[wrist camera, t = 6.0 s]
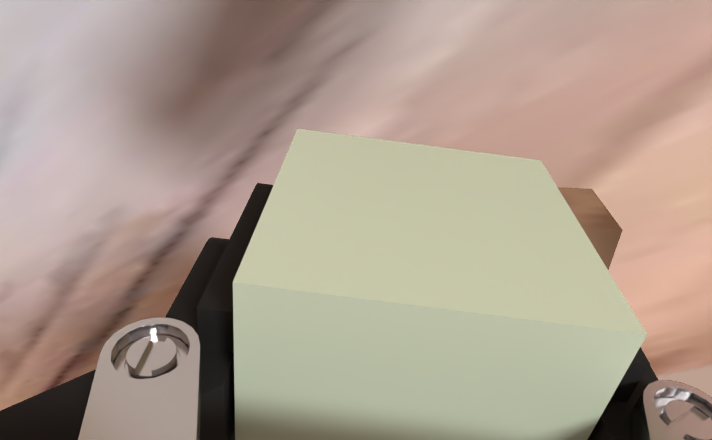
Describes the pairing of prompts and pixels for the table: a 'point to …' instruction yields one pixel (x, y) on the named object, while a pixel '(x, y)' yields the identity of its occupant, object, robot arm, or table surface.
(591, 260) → the cream cube
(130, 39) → the table surface
